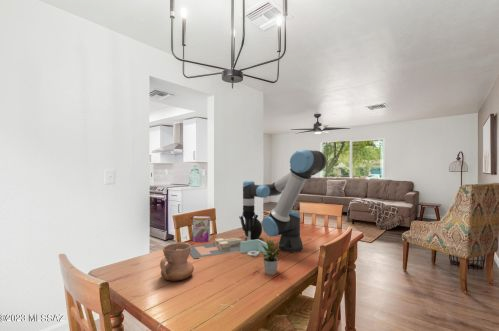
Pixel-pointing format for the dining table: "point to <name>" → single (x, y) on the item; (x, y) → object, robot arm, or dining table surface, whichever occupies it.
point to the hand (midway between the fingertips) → (248, 241)
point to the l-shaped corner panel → (252, 247)
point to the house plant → (270, 257)
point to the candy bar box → (201, 229)
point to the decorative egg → (256, 230)
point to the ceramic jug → (176, 262)
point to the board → (209, 250)
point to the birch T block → (226, 243)
